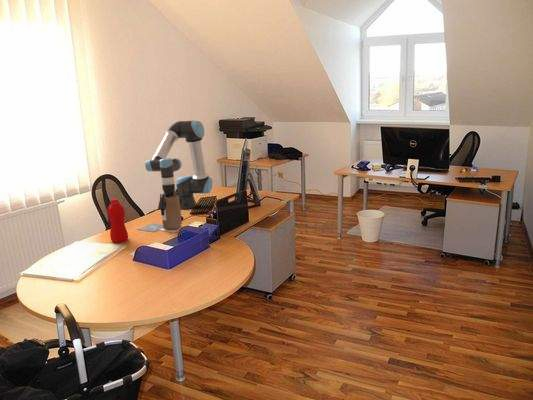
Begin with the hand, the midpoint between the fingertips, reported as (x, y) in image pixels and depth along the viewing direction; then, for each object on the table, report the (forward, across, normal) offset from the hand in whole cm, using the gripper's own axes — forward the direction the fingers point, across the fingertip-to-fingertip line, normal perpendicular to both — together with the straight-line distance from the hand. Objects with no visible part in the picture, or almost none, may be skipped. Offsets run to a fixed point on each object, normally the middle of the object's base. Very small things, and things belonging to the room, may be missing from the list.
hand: (171, 217), depth 278 cm
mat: (+7, 0, 0) cm, 7 cm away
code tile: (+7, +3, -14) cm, 16 cm away
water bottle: (+8, +29, -14) cm, 33 cm away
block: (+7, 0, 0) cm, 7 cm away
